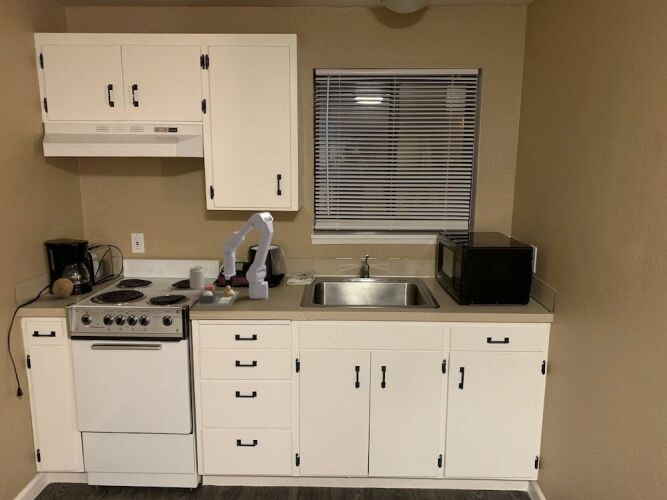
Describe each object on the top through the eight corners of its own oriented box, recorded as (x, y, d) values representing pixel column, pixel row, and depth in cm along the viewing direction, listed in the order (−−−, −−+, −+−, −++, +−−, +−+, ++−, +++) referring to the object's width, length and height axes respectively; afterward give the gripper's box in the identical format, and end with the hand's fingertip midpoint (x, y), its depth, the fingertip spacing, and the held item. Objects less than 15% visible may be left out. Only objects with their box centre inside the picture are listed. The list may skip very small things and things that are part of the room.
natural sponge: (60, 301, 226) (59, 281, 224) (48, 299, 229) (46, 279, 228) (77, 296, 234) (76, 277, 232) (66, 294, 237) (64, 275, 236)
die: (214, 292, 242) (214, 284, 242) (212, 294, 239) (212, 286, 238) (206, 292, 242) (206, 284, 241) (204, 294, 238) (204, 286, 238)
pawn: (233, 294, 240) (233, 284, 239) (232, 297, 235) (232, 286, 234) (224, 294, 240) (223, 284, 239) (222, 297, 235) (222, 286, 234)
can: (190, 291, 248) (190, 269, 246) (189, 287, 255) (188, 266, 253) (205, 290, 251) (204, 268, 249) (203, 286, 258) (202, 265, 256)
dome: (214, 299, 230) (214, 289, 229) (212, 302, 225) (211, 292, 224) (204, 299, 230) (203, 289, 229) (201, 302, 225) (201, 292, 224)
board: (239, 293, 246) (239, 284, 245) (231, 307, 221) (230, 298, 220) (207, 292, 245) (206, 284, 245) (194, 307, 220) (194, 298, 219)
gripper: (224, 261, 247) (224, 286, 250) (218, 267, 233) (219, 293, 236) (237, 261, 248) (238, 286, 250) (233, 267, 233) (233, 293, 236)
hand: (230, 290), depth 243 cm, fingers closed
